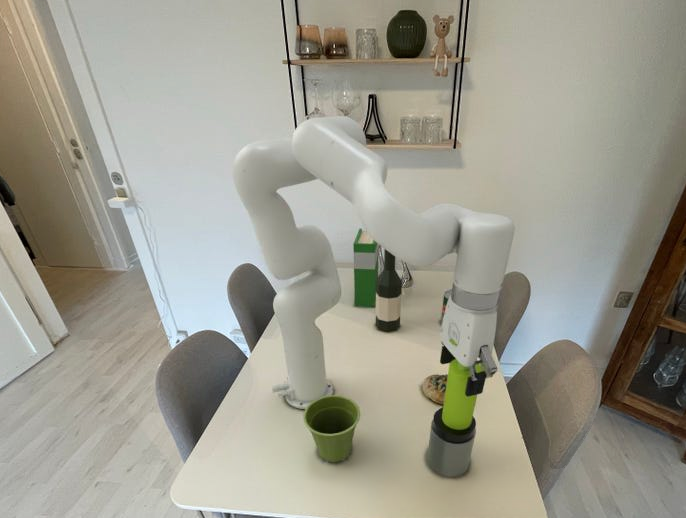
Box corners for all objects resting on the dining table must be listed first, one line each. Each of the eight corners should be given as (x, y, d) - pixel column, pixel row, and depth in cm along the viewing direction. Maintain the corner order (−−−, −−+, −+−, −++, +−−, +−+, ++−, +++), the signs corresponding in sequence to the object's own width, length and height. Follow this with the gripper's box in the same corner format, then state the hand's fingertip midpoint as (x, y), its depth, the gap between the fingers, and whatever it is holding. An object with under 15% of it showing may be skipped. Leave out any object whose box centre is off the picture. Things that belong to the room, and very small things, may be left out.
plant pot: (297, 450, 86) (291, 413, 79) (337, 423, 93) (335, 387, 86) (331, 482, 79) (328, 444, 72) (372, 450, 86) (372, 413, 79)
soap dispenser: (431, 415, 78) (442, 332, 67) (459, 405, 80) (474, 323, 69) (448, 435, 73) (462, 349, 62) (477, 424, 76) (495, 339, 65)
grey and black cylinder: (438, 481, 79) (444, 441, 72) (420, 449, 86) (424, 410, 79) (476, 471, 81) (486, 430, 74) (456, 440, 88) (463, 401, 81)
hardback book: (360, 286, 158) (359, 228, 145) (378, 287, 158) (378, 229, 144) (354, 306, 143) (353, 243, 130) (374, 307, 143) (375, 244, 130)
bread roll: (468, 385, 104) (470, 372, 101) (454, 414, 97) (455, 401, 94) (430, 374, 109) (430, 361, 106) (414, 400, 102) (413, 387, 99)
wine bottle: (400, 320, 134) (404, 236, 118) (399, 332, 128) (403, 245, 111) (376, 319, 135) (377, 235, 119) (374, 331, 128) (375, 244, 112)
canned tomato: (468, 326, 131) (472, 297, 125) (448, 330, 129) (452, 301, 123) (455, 315, 137) (459, 287, 131) (436, 320, 135) (439, 291, 129)
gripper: (431, 276, 67) (422, 354, 77) (483, 324, 54) (465, 413, 63) (468, 271, 69) (455, 348, 79) (528, 317, 56) (504, 404, 65)
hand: (459, 377), depth 71 cm, fingers open, 9 cm apart
